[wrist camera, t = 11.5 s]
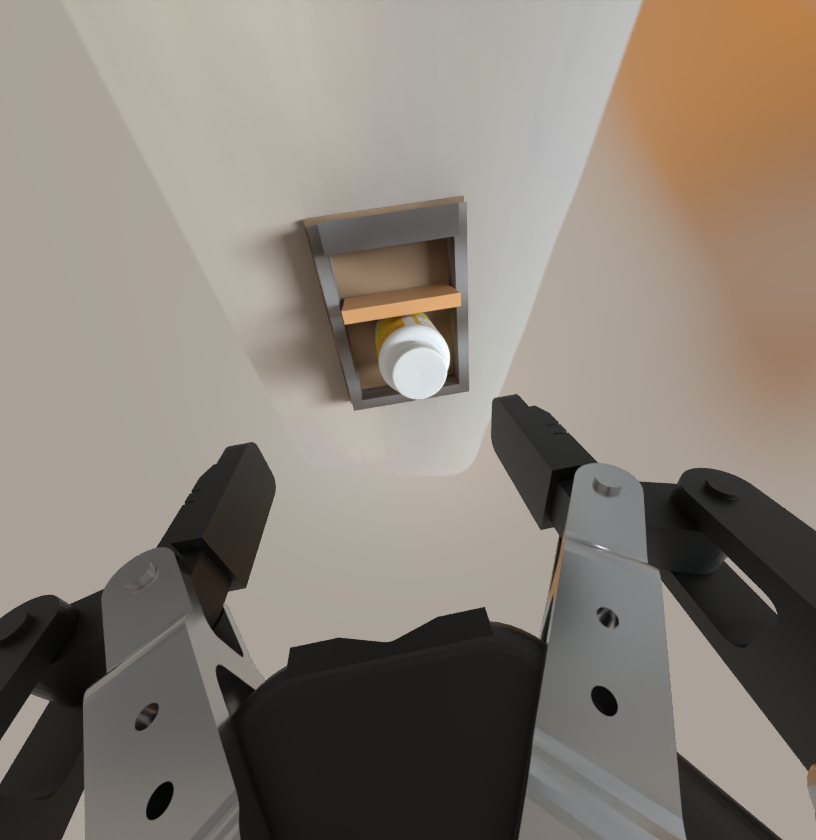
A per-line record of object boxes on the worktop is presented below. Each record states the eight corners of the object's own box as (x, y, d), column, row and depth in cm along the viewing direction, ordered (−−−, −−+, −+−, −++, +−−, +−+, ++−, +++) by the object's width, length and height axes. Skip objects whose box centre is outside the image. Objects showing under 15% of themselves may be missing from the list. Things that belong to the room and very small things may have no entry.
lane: (304, 219, 24) (292, 217, 20) (460, 196, 25) (479, 190, 21) (351, 400, 34) (349, 423, 30) (464, 381, 34) (478, 401, 30)
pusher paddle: (344, 298, 27) (341, 311, 23) (445, 282, 27) (460, 292, 23) (347, 310, 27) (344, 324, 23) (446, 294, 28) (461, 306, 24)
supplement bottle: (375, 360, 31) (381, 411, 22) (372, 303, 28) (377, 337, 19) (429, 358, 31) (455, 407, 23) (432, 302, 28) (462, 334, 20)
